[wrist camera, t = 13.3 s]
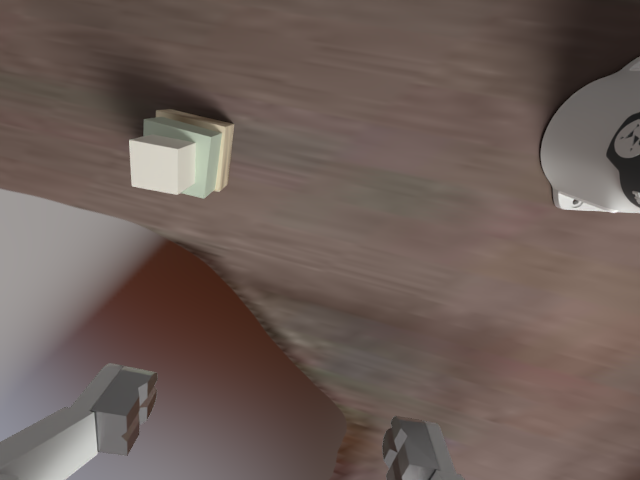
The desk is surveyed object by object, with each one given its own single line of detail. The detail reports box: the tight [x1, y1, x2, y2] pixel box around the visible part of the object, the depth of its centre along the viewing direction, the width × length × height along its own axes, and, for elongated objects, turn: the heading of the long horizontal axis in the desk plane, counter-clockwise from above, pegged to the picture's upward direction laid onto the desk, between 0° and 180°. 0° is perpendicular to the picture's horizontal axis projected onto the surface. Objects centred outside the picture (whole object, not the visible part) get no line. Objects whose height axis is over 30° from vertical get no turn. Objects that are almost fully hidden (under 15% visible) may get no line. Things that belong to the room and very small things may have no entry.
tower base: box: [156, 109, 234, 192], centre depth 40 cm, size 8×8×4 cm
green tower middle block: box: [143, 117, 222, 198], centre depth 37 cm, size 7×7×4 cm
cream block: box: [129, 134, 196, 195], centre depth 33 cm, size 4×4×4 cm
